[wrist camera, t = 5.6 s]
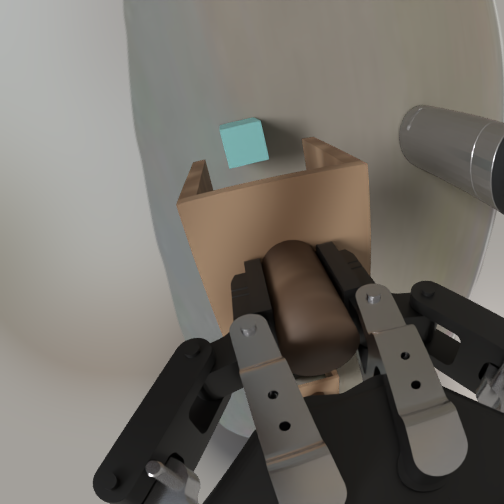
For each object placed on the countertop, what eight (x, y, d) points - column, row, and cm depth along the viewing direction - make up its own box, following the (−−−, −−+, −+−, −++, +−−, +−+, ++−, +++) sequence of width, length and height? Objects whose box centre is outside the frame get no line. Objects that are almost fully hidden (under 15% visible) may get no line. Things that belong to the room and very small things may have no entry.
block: (253, 117, 32) (260, 120, 27) (261, 149, 34) (269, 159, 29) (219, 125, 32) (219, 130, 27) (228, 157, 34) (229, 168, 29)
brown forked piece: (313, 136, 18) (444, 210, 7) (326, 241, 22) (409, 380, 11) (193, 162, 18) (150, 278, 7) (222, 265, 22) (231, 428, 11)
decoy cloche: (326, 343, 51) (348, 402, 40) (327, 368, 55) (346, 422, 44) (282, 354, 51) (297, 416, 40) (288, 379, 55) (302, 435, 44)
